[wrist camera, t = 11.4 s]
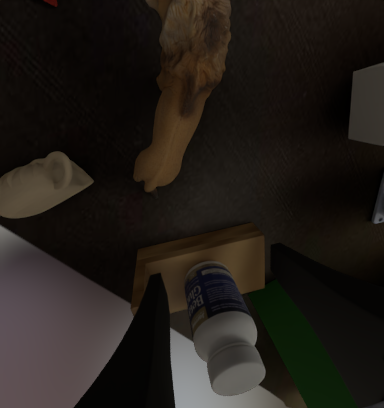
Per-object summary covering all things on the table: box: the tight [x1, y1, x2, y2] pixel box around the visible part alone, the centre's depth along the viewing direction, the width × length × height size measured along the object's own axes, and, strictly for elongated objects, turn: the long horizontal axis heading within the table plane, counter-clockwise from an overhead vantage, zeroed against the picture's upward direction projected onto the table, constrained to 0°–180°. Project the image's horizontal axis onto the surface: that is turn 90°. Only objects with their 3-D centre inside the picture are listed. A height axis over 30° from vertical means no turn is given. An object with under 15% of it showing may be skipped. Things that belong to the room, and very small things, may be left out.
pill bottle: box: [184, 261, 266, 396], centre depth 18 cm, size 5×5×10 cm
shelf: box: [131, 222, 265, 316], centre depth 22 cm, size 14×8×8 cm, turn 99°
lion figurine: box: [133, 0, 231, 199], centre depth 14 cm, size 15×5×9 cm, turn 168°
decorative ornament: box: [0, 151, 94, 218], centre depth 16 cm, size 4×8×5 cm, turn 115°
